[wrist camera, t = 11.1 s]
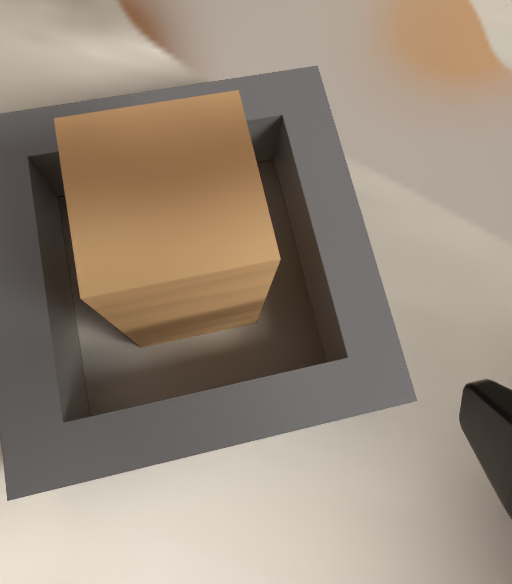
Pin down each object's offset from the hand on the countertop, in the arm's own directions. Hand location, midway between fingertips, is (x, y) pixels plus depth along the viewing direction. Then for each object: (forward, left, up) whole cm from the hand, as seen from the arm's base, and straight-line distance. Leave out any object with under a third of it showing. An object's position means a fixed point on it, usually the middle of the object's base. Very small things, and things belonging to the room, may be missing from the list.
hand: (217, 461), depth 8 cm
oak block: (+7, +1, -12) cm, 14 cm away
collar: (+7, +1, -12) cm, 14 cm away
